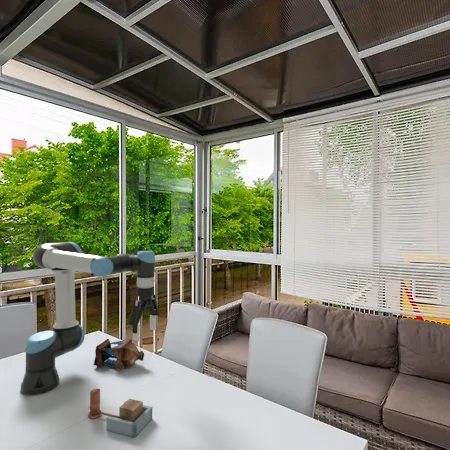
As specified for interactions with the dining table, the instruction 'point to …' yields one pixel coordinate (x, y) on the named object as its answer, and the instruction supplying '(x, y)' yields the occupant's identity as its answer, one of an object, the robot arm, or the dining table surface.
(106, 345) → the lantern
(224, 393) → the dining table surface
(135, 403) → the block and peg linkage
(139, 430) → the slate open-sided box
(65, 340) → the robot arm
